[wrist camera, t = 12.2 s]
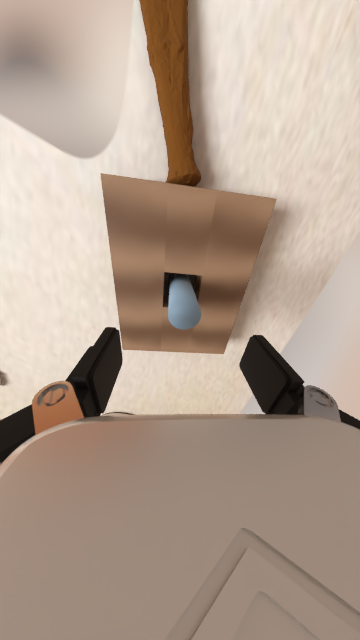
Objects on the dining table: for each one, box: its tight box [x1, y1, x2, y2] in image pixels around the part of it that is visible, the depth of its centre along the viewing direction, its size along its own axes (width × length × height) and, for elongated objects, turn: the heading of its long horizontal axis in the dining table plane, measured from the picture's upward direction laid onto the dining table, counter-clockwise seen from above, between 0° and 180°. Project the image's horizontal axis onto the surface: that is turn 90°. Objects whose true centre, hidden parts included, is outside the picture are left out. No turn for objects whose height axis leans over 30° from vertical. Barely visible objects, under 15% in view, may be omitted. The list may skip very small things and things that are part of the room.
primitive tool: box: [140, 0, 201, 187], centre depth 11 cm, size 19×6×4 cm, turn 11°
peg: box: [168, 273, 201, 330], centre depth 18 cm, size 3×3×10 cm
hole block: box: [101, 173, 276, 354], centre depth 20 cm, size 20×16×4 cm
